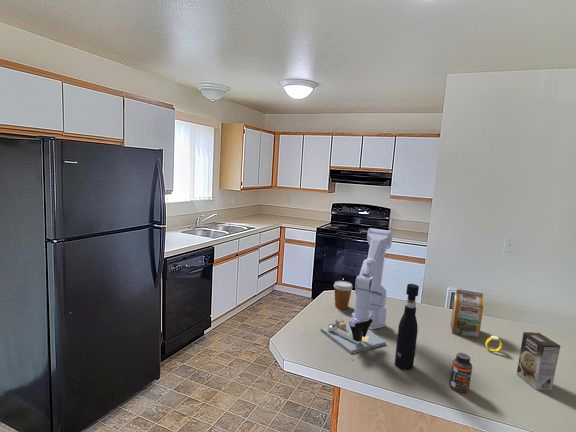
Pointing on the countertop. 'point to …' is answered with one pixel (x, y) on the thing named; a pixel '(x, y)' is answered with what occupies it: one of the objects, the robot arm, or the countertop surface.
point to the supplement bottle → (460, 373)
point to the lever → (344, 333)
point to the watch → (493, 339)
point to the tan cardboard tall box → (467, 313)
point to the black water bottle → (407, 332)
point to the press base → (348, 345)
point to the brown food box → (538, 360)
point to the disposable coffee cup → (342, 294)
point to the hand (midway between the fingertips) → (359, 338)
